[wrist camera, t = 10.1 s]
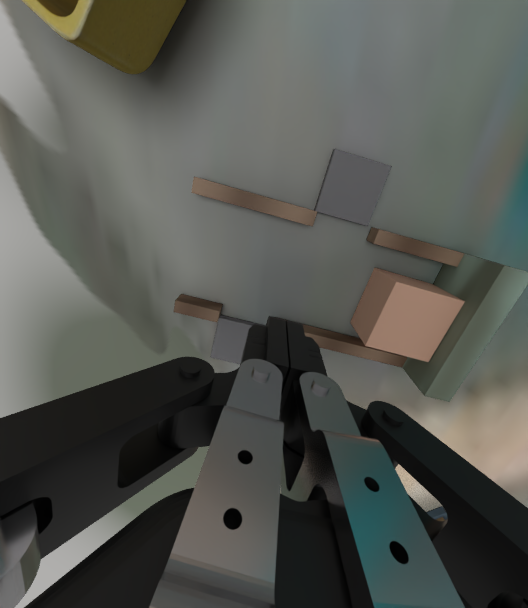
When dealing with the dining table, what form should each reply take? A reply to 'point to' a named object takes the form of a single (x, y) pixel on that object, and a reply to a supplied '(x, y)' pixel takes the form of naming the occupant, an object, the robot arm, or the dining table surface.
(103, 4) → the flower pot
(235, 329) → the trap pads
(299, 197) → the dining table surface
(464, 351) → the lane
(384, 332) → the terracotta block
